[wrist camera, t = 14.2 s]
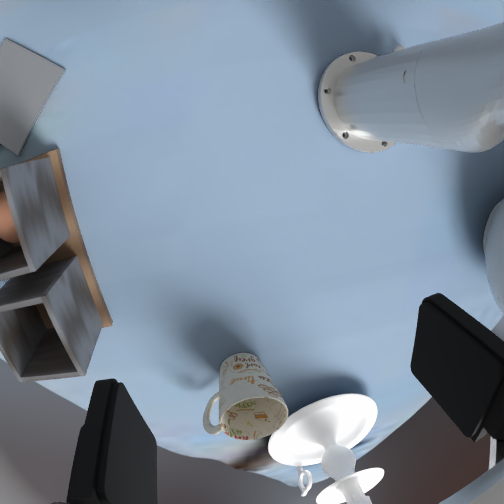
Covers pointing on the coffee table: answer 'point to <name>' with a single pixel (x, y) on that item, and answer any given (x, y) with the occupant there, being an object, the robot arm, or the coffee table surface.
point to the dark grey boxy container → (46, 277)
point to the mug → (246, 400)
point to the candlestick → (329, 445)
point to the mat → (23, 92)
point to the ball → (7, 221)
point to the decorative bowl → (495, 253)
